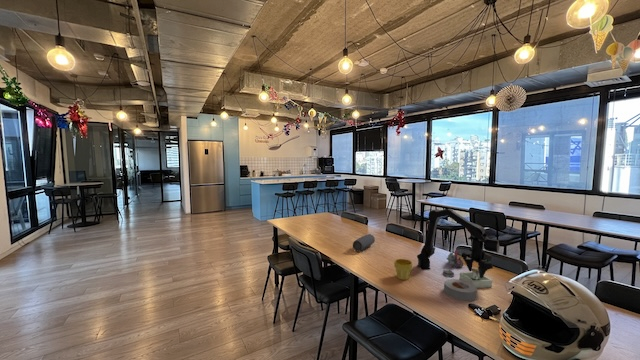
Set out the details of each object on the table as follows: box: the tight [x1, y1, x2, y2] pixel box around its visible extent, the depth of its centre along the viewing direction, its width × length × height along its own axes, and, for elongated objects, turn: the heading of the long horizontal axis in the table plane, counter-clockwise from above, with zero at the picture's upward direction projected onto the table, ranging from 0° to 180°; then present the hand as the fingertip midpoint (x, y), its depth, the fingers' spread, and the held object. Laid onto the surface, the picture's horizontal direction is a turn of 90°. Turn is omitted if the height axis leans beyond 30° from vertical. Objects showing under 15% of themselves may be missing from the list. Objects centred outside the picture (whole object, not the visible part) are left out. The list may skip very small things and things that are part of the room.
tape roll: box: [443, 278, 478, 303], centre depth 142 cm, size 15×15×5 cm
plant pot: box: [393, 258, 413, 281], centre depth 161 cm, size 10×10×10 cm
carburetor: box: [446, 249, 464, 268], centre depth 181 cm, size 11×11×12 cm
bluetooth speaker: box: [352, 233, 376, 252], centre depth 212 cm, size 23×9×10 cm, turn 144°
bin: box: [459, 271, 493, 289], centre depth 155 cm, size 12×12×4 cm
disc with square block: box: [442, 269, 455, 278], centre depth 166 cm, size 6×6×2 cm
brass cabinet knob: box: [471, 267, 480, 281], centre depth 154 cm, size 5×5×7 cm
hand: (475, 274), depth 154 cm, fingers open, 9 cm apart
